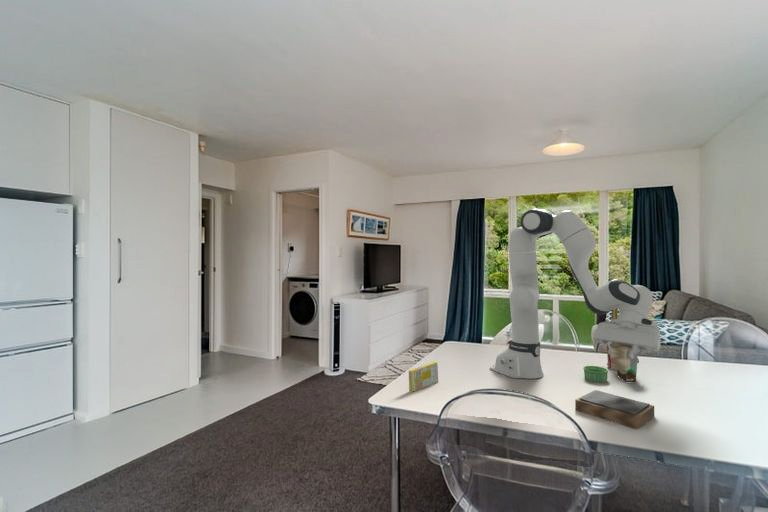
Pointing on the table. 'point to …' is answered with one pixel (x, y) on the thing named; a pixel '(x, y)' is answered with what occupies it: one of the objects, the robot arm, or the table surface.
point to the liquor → (613, 319)
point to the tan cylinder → (620, 357)
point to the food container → (629, 371)
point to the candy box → (423, 376)
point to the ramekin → (595, 373)
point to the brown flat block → (615, 408)
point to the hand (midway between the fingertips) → (619, 355)
